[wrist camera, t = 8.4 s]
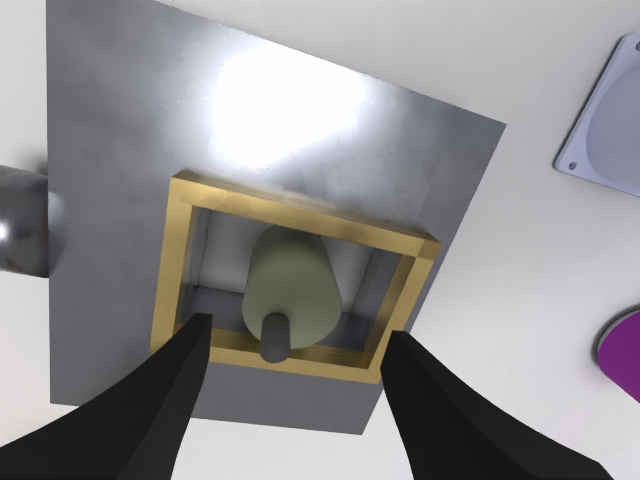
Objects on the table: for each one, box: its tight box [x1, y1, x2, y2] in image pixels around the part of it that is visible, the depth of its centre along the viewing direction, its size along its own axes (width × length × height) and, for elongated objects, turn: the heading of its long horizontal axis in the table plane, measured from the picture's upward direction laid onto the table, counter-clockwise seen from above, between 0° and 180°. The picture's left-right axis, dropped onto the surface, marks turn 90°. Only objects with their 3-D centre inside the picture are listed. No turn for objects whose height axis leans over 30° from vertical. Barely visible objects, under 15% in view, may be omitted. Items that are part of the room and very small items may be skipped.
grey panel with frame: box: [0, 0, 507, 435], centre depth 18 cm, size 23×22×6 cm
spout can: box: [242, 225, 342, 363], centre depth 18 cm, size 5×5×8 cm
